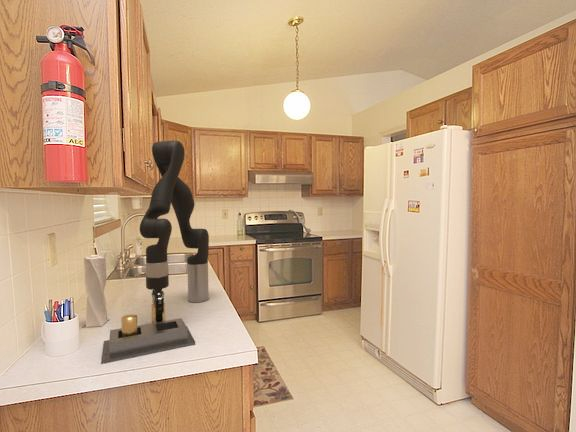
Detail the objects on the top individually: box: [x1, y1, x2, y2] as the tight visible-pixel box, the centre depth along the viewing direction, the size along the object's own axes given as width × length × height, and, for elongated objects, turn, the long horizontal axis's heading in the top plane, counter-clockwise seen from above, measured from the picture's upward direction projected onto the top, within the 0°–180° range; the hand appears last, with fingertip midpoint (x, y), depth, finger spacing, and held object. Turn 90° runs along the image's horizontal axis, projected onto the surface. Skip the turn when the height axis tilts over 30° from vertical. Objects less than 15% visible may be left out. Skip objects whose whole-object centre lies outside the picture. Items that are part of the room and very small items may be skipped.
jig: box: [101, 313, 196, 365], centre depth 103 cm, size 15×26×10 cm, turn 117°
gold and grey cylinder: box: [151, 302, 166, 323], centre depth 115 cm, size 4×4×9 cm
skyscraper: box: [81, 250, 110, 329], centre depth 120 cm, size 8×8×28 cm
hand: (158, 321), depth 116 cm, fingers closed on gold and grey cylinder, 4 cm apart
